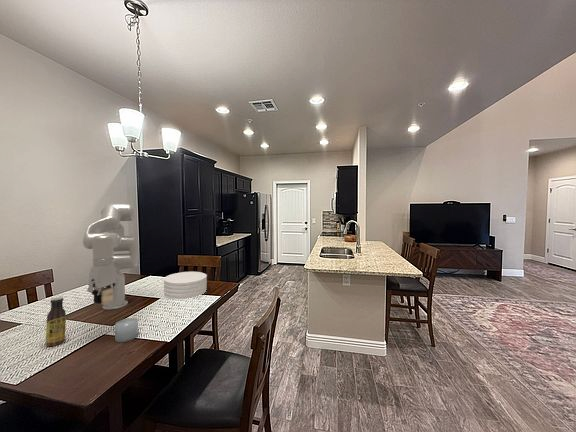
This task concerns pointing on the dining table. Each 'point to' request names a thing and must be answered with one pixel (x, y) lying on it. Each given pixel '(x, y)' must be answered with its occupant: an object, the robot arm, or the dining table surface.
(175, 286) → the plate stack
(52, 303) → the sauce bottle
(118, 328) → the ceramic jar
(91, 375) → the dining table surface
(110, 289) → the maple block
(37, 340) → the dining table surface
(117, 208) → the robot arm
